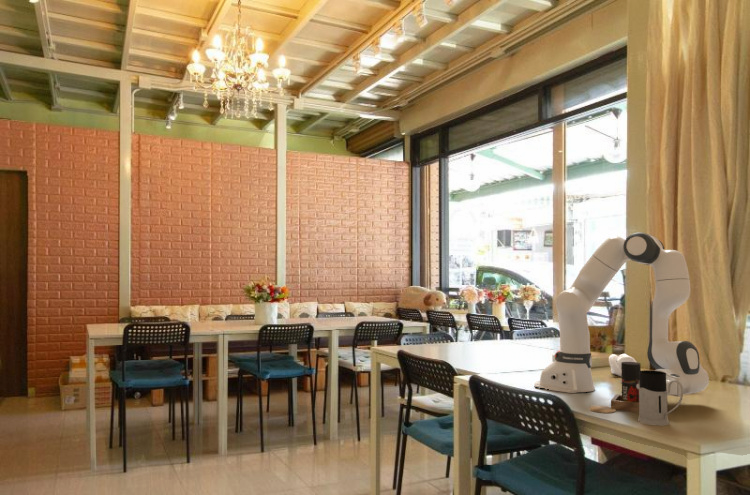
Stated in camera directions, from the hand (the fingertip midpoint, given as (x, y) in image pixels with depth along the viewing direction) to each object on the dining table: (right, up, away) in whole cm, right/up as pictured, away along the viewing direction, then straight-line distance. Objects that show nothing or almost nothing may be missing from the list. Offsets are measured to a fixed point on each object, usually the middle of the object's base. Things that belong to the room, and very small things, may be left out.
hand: (629, 384), depth 199 cm
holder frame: (+1, -8, 0) cm, 8 cm away
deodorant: (+1, -8, 0) cm, 8 cm away
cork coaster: (-10, -8, -3) cm, 13 cm away
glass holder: (+1, -8, -20) cm, 21 cm away
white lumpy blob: (+23, -10, +61) cm, 66 cm away
